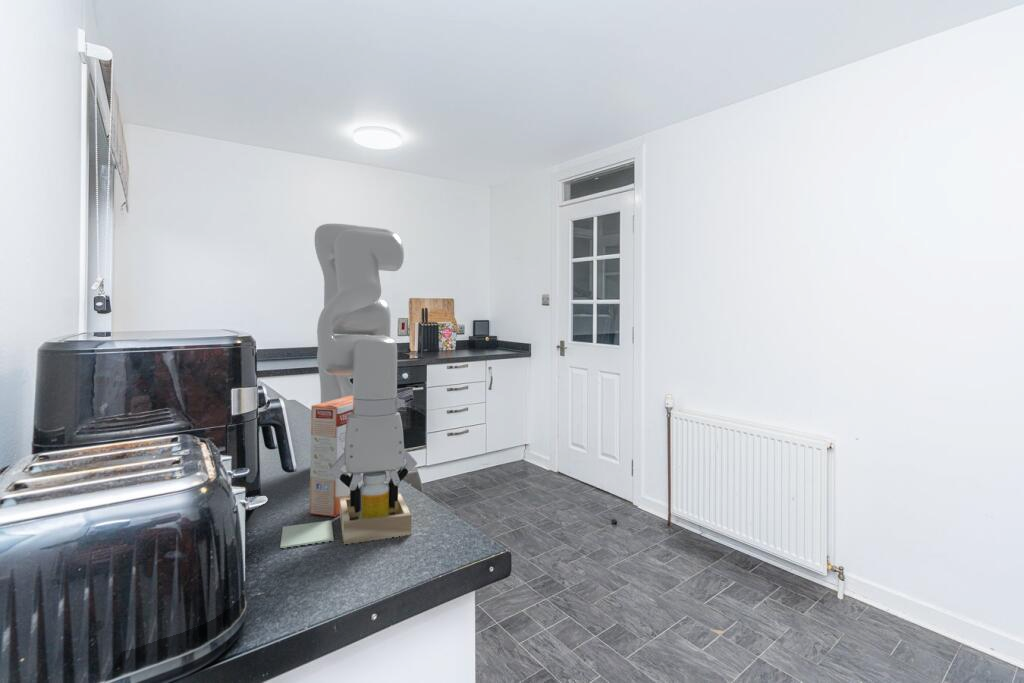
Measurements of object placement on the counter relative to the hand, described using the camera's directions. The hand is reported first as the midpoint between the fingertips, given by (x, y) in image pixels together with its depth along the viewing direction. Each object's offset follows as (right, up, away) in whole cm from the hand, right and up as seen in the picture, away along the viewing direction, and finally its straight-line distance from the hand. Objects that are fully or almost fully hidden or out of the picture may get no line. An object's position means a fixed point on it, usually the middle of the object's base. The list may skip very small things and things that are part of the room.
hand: (374, 506), depth 86 cm
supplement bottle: (0, -4, 0) cm, 4 cm away
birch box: (0, -3, 0) cm, 3 cm away
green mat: (-10, -3, -4) cm, 12 cm away
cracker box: (-9, -3, +10) cm, 14 cm away
